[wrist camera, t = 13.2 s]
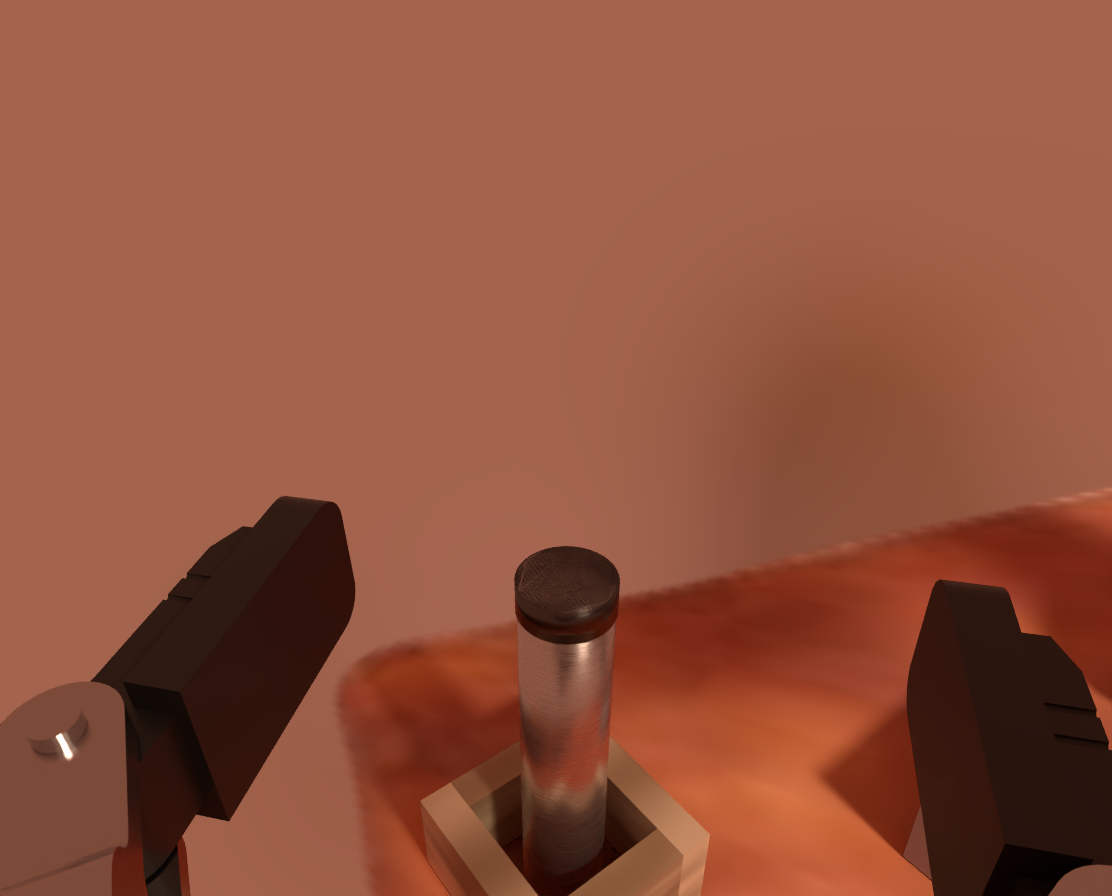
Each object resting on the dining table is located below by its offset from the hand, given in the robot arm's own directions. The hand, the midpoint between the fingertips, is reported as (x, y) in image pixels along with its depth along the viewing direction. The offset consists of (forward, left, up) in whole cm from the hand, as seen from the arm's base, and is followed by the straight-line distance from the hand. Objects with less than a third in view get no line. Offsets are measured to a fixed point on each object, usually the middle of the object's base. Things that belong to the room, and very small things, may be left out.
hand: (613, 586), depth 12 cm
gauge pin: (+9, -7, -26) cm, 28 cm away
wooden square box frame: (+10, -7, -26) cm, 28 cm away
